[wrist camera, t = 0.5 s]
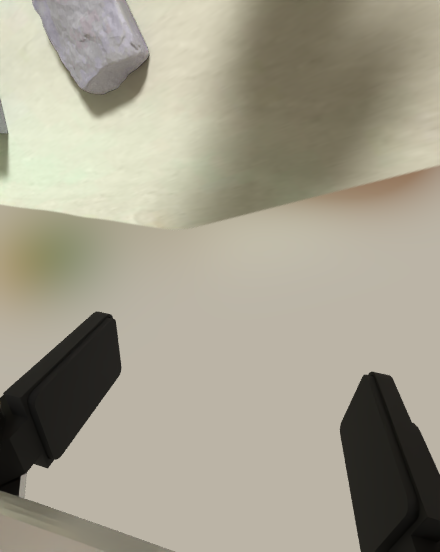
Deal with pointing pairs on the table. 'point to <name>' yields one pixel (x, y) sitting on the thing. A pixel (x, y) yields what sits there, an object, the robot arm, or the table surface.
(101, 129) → the table surface
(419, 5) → the table surface
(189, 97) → the table surface
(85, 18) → the stone block
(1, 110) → the board
